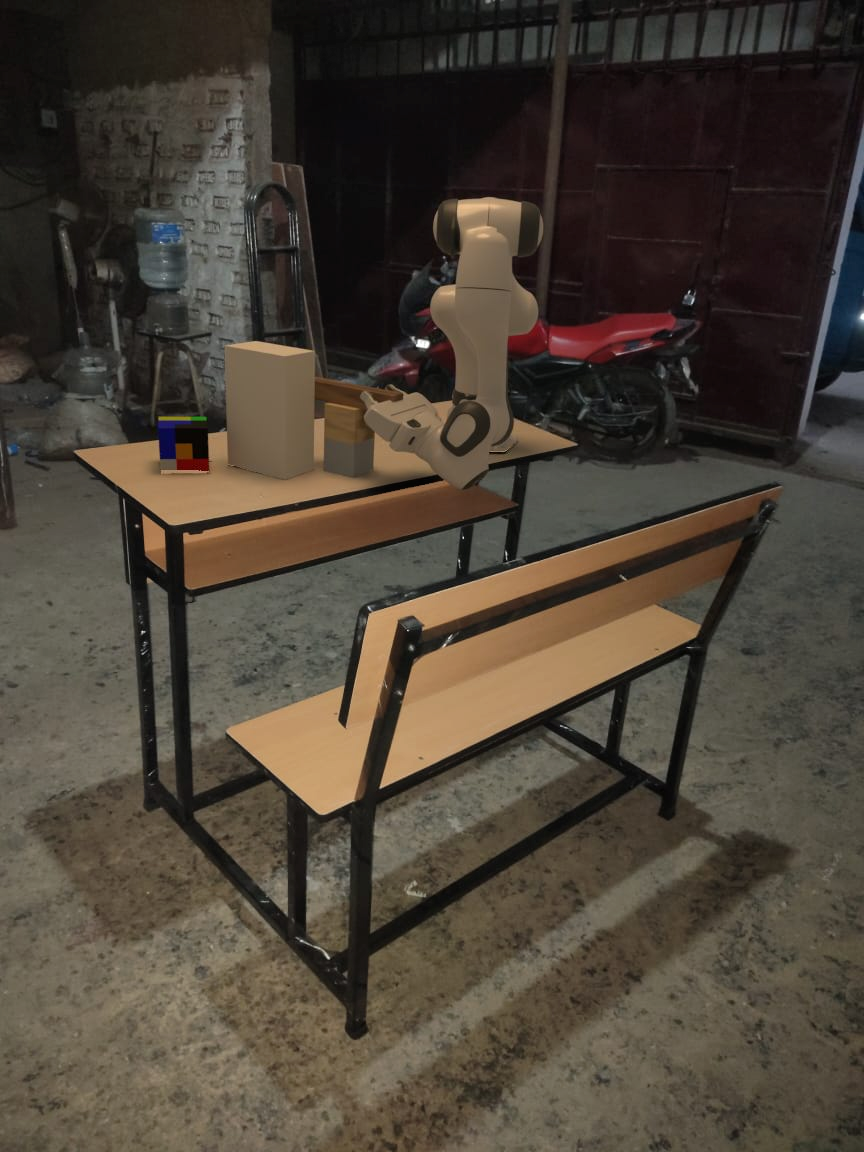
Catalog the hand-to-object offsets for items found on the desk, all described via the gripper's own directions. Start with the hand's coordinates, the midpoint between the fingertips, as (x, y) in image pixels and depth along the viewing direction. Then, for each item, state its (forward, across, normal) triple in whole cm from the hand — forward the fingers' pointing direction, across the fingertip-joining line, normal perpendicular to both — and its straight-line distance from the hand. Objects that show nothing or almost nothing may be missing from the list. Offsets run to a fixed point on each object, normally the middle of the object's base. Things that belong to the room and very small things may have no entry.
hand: (375, 390), depth 183 cm
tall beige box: (+8, +10, +26) cm, 29 cm away
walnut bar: (+3, 0, +6) cm, 7 cm away
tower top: (0, 0, +13) cm, 13 cm away
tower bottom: (-4, 0, +20) cm, 20 cm away
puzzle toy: (+20, +22, +34) cm, 45 cm away
